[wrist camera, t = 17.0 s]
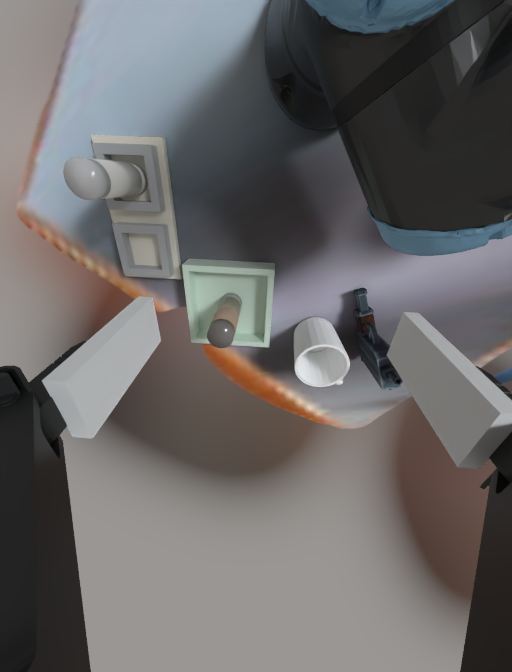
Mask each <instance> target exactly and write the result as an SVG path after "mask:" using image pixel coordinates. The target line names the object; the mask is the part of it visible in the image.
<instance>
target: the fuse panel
mask: <svg viewBox="0 0 512 672" xmlns="http://www.w3.org/2000/svg"><path fill="white" fill-rule="evenodd" d="M91 136H92V140H93V142H92V146H93V150H94V154H95V158H96V159H102V160H112V161H121V162H128V163H134V164H137V165H139V166H140V167H141V168H142V169H143V170H144V171H145V173H146V175H147V179H148V187H147V189H146V191H145V192H144V193H142V194H137V195H132V196H123V197H115V198H107V199H106V203H107V207H108V210H110V214H111V218H112V222H113V224H112V227H113V231H114V235H115V239H116V244H117V248H118V252H119V256H120V260H121V264H122V268H123V272H124V275H125V276H130V277H148V278H165V279H182V270H181V261H180V253H179V245H178V237H177V229H176V220H175V212H174V204H173V196H172V188H171V180H170V171H169V163H168V155H167V147H166V139H165V138H163V137H137V136H109V135H91Z"/></svg>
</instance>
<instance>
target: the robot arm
mask: <svg viewBox="0 0 512 672" xmlns="http://www.w3.org/2000/svg"><path fill="white" fill-rule="evenodd" d="M450 42H451V43H450ZM433 55H434V56H433ZM429 58H430V59H429ZM265 60H266V69H267V75H268V80H269V83H270V87H271V90H272V92H273V95H274V97H275V99H276V101H277V103H278V104H279V106H280V107H281V109H282V110H283V111H284V113H285V114H286V115H287V116H288V117H289V118H290V119H291V120H293V121H294V122H295V123H297V124H299V125H301V126H303V127H305V128H308V129H313V130H329V129H333V128H337V127H338V131H339V134H340V136H341V139H342V141H343V144H344V146H345V149H346V151H347V154H348V156H349V159H350V161H351V164H352V166H353V169H354V171H355V174H356V176H357V179H358V181H359V184H360V186H361V189H362V191H363V194H364V196H365V199H366V201H367V204H368V207H367V210H368V213H369V216H370V218H371V219H372V220H373V221H374V222H375V223H376V225H377V227H378V230H379V232H380V234H381V236H382V238H383V240H384V241H385V243H386V244H388V245H389V246H390V247H391V248H393V249H394V250H396V251H398V252H401V253H405V254H409V255H418V256H434V255H445V254H452V253H458V252H463V251H467V250H471V249H474V248H478V247H481V246H484V245H486V244H487V243H488V240H491V239H503V238H505V237H507V236H509V235H511V234H512V0H271V4H270V7H269V12H268V16H267V22H266V30H265ZM425 61H426V62H425ZM421 64H422V65H421ZM416 68H417V69H416ZM412 71H413V72H412ZM408 74H409V75H408ZM404 77H405V78H404ZM403 78H404V79H403ZM399 81H400V82H399ZM395 84H396V85H395ZM386 91H387V92H386ZM382 94H383V95H382ZM378 97H379V98H378ZM374 100H375V101H374ZM373 101H374V102H373ZM340 126H341V127H340ZM339 127H340V128H339ZM160 341H161V338H160V333H159V327H158V322H157V318H156V312H155V307H154V302H153V297H137V298H136V299H135V300H134V301H133V302H132V303H130V304H129V305H128V306H127V307H126V308H125V309H124V310H123V311H121V312H120V313H119V314H118V315H117V316H116V317H114V318H113V319H112V320H111V321H110V322H109V323H108V324H106V325H105V326H104V327H103V328H102V329H101V330H100V331H98V332H97V333H96V334H95V335H94V336H93V337H91V338H90V339H89V340H88V341H87V342H86V341H83V342H81V343H79V344H77V345H75V346H73V347H71V348H70V349H69V350H68V351H67V352H65V353H64V354H63V355H62V357H59V358H58V359H57V360H56V361H55V362H54V363H52V364H51V365H50V366H48V367H47V368H46V369H45V370H44V371H42V372H41V373H40V374H39V375H38V376H36V377H35V378H34V379H33V380H32V381H31V382H28V381H27V379H26V378H25V376H24V374H23V373H22V371H21V369H20V368H19V367H16V366H3V367H0V672H91V669H90V662H89V654H88V646H87V638H86V629H85V621H84V613H83V604H82V596H81V588H80V580H79V571H78V563H77V555H76V547H75V538H74V530H73V522H72V513H71V505H70V497H69V489H68V480H67V472H66V464H65V456H64V447H63V441H62V439H61V437H60V434H61V432H62V431H63V430H64V429H65V428H66V427H67V428H68V429H69V431H70V433H71V435H72V437H80V438H93V437H94V436H95V434H96V433H97V432H98V430H99V429H100V427H101V426H102V425H103V423H104V422H105V420H106V419H107V417H108V416H109V414H110V413H111V412H112V410H113V409H114V407H115V406H116V404H117V403H118V401H119V400H120V399H121V397H122V396H123V394H124V393H125V391H126V390H127V389H128V387H129V386H130V384H131V383H132V382H133V380H134V379H135V377H136V376H137V374H138V373H139V372H140V370H141V369H142V367H143V366H144V364H145V363H146V361H147V360H148V359H149V357H150V356H151V354H152V353H153V352H154V350H155V349H156V347H157V346H158V344H159V343H160ZM387 357H388V358H389V360H390V361H391V363H392V364H393V366H394V368H395V369H396V371H397V372H398V374H399V375H400V377H401V379H402V380H403V382H404V383H405V385H406V387H407V388H408V390H409V391H410V393H411V394H412V396H413V397H414V399H415V401H416V402H417V404H418V405H419V407H420V409H421V410H422V412H423V413H424V415H425V417H426V418H427V420H428V421H429V423H430V424H431V426H432V428H433V429H434V431H435V432H436V434H437V435H438V437H439V439H440V440H441V442H442V443H443V444H444V446H445V448H446V450H447V451H448V453H449V454H450V456H451V457H452V459H453V461H454V462H455V464H456V465H457V467H462V468H474V469H480V468H481V467H482V466H483V465H484V464H485V463H486V462H487V460H488V459H489V458H490V459H491V461H492V462H493V463H494V464H495V466H496V467H497V469H496V470H495V471H494V472H493V473H492V474H491V475H490V476H489V477H488V478H487V479H486V480H485V481H484V482H483V483H482V485H481V488H483V489H485V488H486V487H487V486H490V487H489V494H488V500H487V507H486V513H485V519H484V525H483V532H482V538H481V545H480V550H479V557H478V563H477V569H476V576H475V582H474V589H473V595H472V601H471V608H470V614H469V621H468V626H467V633H466V639H465V645H464V652H463V658H462V664H461V671H460V672H512V394H510V391H509V390H507V389H506V388H505V387H504V386H502V385H501V383H500V382H499V381H498V380H497V379H495V378H494V377H493V376H492V375H491V374H489V373H487V372H486V371H484V370H483V369H481V368H479V367H478V366H474V365H473V364H472V363H471V362H470V361H469V360H468V359H467V358H466V357H465V356H464V355H463V354H462V353H461V352H460V351H458V350H457V349H456V348H455V347H454V346H453V345H452V344H451V343H450V342H449V341H448V340H447V339H446V338H445V337H444V336H442V335H441V334H440V333H439V332H438V331H437V330H436V329H435V328H434V327H433V326H432V325H431V324H430V323H429V322H428V321H426V320H425V319H424V318H423V317H422V316H421V315H420V314H419V313H411V312H403V314H402V317H401V319H400V322H399V324H398V327H397V330H396V332H395V335H394V338H393V340H392V343H391V345H390V348H389V351H388V353H387Z"/></svg>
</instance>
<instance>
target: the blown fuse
mask: <svg viewBox="0 0 512 672" xmlns="http://www.w3.org/2000/svg"><path fill="white" fill-rule="evenodd" d="M241 306H242V300H241V298H240V297H239V296H238V295H237V294H235V293H227V294H225V295H224V296H223V297H222V299H221V301H220V303H219V305H218V308H217V310H216V312H215V315H214V317H213V319H212V322H211V324H210V327H209V330H208V332H207V339H208V341H209V343H210V344H212V345H213V346H215V347H217V348H226V347H228V346H230V345H231V344H232V342H233V339H234V335H235V332H236V328H237V324H238V320H239V316H240V312H241Z"/></svg>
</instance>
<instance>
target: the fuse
mask: <svg viewBox="0 0 512 672" xmlns="http://www.w3.org/2000/svg"><path fill="white" fill-rule="evenodd" d="M63 171H64V178H65V181H66V183H67V185H68V187H69V188H70V190H71V191H72V192H73V193H74V194H75V195H77V196H78V197H80V198H82V199H85V200H95V199H107V198H115V197H123V196H132V195H137V194H142V193H144V192H145V191H146V189H147V187H148V179H147V175H146V173H145V171H144V170H143V169H142V168H141V167H140V166H139V165H137V164H134V163H128V162H121V161H112V160H102V159H93V158H79V157H73V158H70V159H69V160H67V161H66V163H65V165H64V170H63Z"/></svg>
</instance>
